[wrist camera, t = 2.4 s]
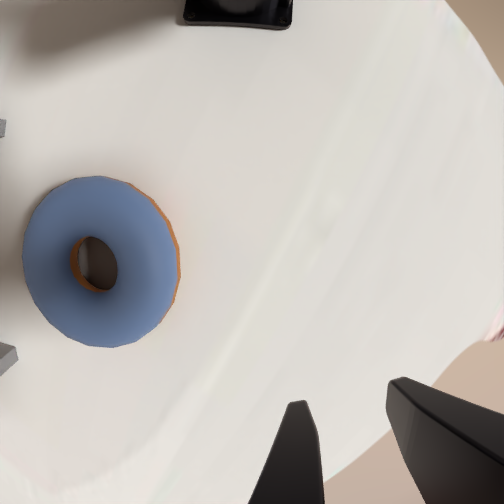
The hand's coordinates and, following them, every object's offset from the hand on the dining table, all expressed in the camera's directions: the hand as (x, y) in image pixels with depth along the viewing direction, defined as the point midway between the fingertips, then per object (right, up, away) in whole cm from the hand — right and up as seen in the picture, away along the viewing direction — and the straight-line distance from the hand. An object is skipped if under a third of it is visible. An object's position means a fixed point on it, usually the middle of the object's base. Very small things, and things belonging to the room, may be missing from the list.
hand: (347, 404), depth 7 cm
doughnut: (-11, +3, +12) cm, 17 cm away
